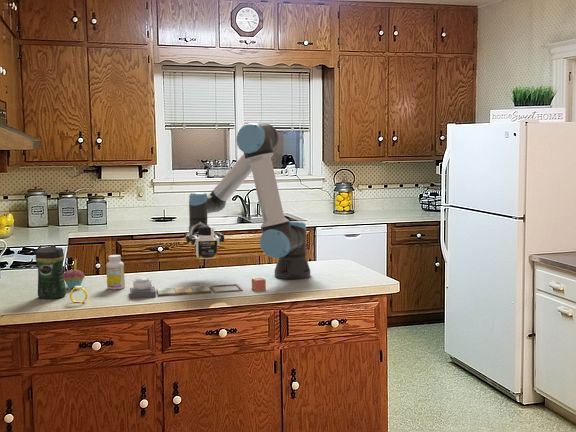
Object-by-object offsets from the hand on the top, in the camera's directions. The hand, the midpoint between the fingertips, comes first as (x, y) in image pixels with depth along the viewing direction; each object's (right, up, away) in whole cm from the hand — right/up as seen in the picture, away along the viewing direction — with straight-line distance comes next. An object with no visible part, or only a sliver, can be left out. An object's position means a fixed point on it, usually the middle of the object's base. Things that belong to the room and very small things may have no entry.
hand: (207, 241), depth 248 cm
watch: (-45, -21, -11) cm, 51 cm away
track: (-10, -19, +4) cm, 22 cm away
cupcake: (-54, -19, +13) cm, 59 cm away
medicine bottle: (-1, -6, +6) cm, 8 cm away
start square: (+6, -18, +8) cm, 21 cm away
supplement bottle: (-37, -19, +11) cm, 43 cm away
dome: (-24, -17, -1) cm, 30 cm away
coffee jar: (-57, -20, -2) cm, 61 cm away
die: (+19, -19, +8) cm, 27 cm away
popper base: (-24, -20, -1) cm, 31 cm away
